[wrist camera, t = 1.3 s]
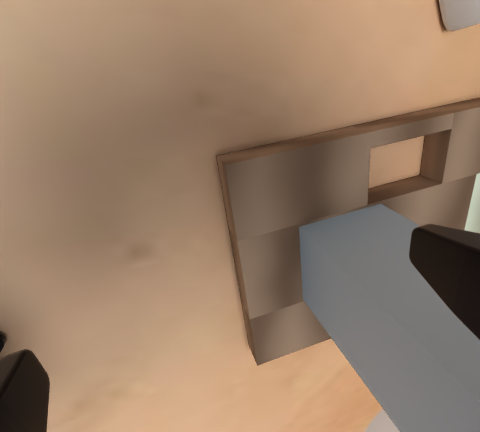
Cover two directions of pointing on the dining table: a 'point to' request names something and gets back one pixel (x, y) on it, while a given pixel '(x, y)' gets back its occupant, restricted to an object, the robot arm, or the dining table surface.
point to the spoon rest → (459, 13)
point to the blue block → (391, 320)
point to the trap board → (335, 206)
